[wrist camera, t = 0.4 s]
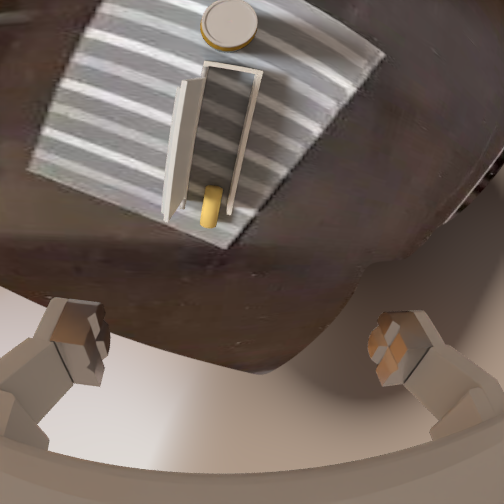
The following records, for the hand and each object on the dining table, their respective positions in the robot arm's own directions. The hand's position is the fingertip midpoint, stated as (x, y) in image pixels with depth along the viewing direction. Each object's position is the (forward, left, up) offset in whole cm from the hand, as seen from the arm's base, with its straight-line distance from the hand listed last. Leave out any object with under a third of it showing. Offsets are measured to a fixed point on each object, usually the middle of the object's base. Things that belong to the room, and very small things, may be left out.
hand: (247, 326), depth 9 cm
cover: (+7, -5, -38) cm, 39 cm away
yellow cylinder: (+19, +1, -47) cm, 50 cm away
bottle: (-11, -2, -47) cm, 48 cm away
